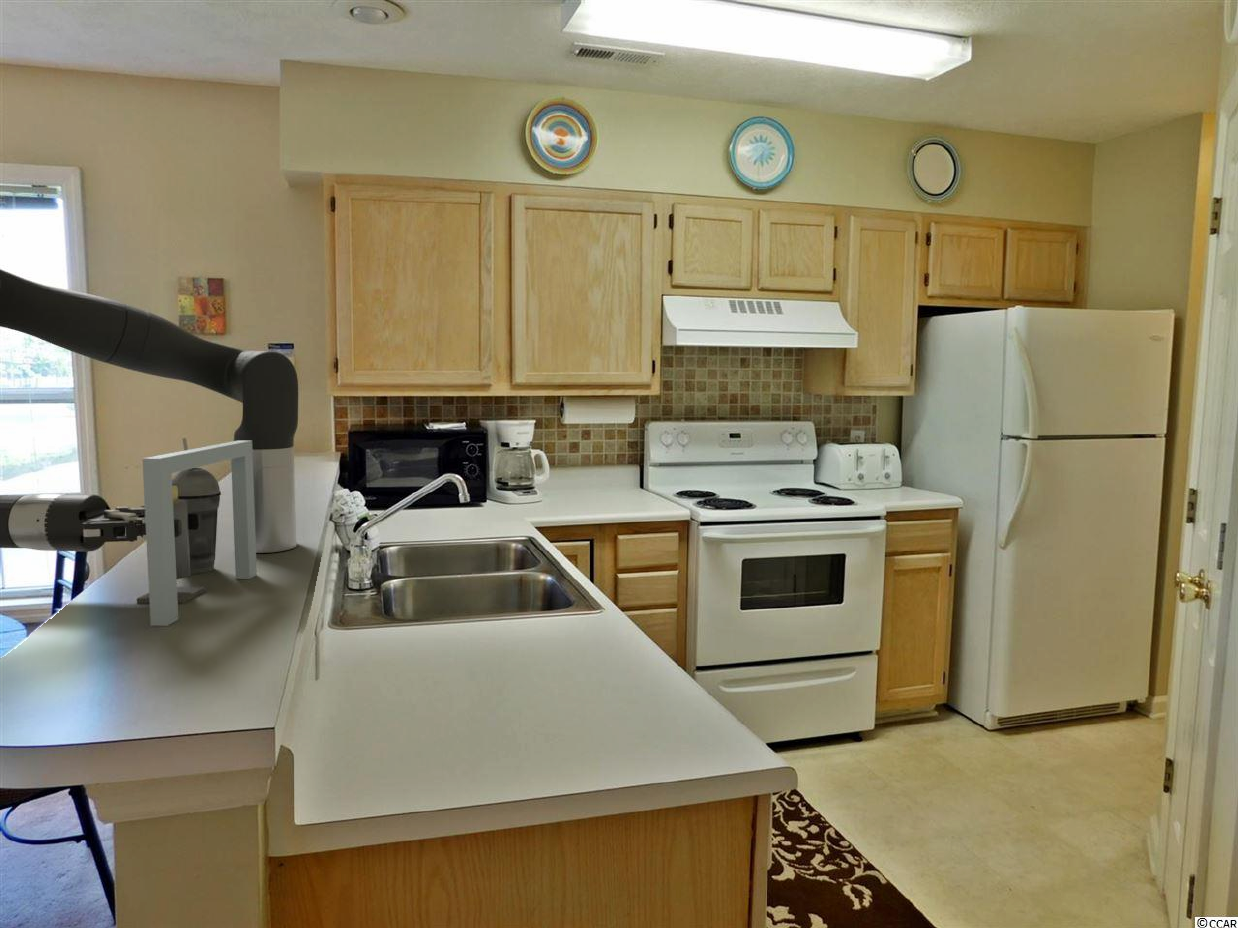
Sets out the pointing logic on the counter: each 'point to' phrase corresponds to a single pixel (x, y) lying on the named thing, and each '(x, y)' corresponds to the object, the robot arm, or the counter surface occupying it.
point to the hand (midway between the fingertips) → (189, 524)
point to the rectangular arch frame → (162, 519)
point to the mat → (178, 594)
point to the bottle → (181, 536)
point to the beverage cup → (205, 501)
